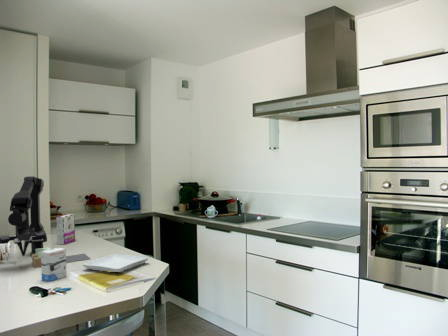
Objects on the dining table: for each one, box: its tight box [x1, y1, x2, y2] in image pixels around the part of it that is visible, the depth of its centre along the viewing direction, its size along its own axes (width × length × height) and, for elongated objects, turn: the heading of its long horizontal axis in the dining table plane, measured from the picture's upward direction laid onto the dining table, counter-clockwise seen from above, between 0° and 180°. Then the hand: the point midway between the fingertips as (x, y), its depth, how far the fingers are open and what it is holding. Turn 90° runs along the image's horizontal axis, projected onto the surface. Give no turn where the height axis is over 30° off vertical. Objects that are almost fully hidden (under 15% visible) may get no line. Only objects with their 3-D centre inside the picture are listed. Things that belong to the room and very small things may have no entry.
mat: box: [66, 253, 91, 264], centre depth 189 cm, size 13×12×1 cm
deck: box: [31, 254, 41, 268], centre depth 182 cm, size 12×13×4 cm
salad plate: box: [82, 253, 149, 273], centre depth 172 cm, size 21×21×3 cm
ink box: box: [40, 247, 68, 283], centre depth 157 cm, size 8×5×12 cm, turn 148°
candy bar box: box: [56, 213, 76, 246], centre depth 228 cm, size 11×5×16 cm, turn 168°
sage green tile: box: [36, 246, 51, 258], centre depth 181 cm, size 9×6×2 cm, turn 33°
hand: (23, 255), depth 177 cm, fingers closed
